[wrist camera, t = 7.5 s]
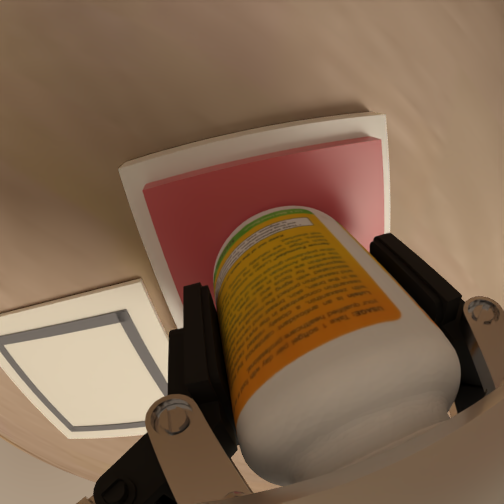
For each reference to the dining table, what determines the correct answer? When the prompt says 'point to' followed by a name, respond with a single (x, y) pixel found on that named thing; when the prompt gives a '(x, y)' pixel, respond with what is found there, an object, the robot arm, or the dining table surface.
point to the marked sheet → (89, 359)
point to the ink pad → (255, 190)
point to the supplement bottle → (323, 348)
